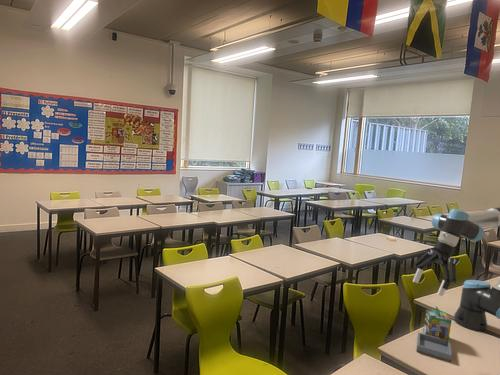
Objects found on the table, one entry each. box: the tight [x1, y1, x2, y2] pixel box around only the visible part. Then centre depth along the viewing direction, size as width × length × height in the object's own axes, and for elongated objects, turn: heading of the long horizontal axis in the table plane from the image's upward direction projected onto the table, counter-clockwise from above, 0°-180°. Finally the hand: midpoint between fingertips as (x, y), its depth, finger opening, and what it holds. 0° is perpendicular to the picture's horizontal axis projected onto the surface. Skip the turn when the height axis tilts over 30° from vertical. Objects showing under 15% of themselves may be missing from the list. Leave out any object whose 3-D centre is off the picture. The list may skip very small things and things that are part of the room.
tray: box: [416, 332, 453, 363], centre depth 164 cm, size 13×13×3 cm
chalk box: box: [422, 305, 452, 341], centre depth 174 cm, size 9×9×15 cm
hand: (426, 288), depth 160 cm, fingers open, 13 cm apart
